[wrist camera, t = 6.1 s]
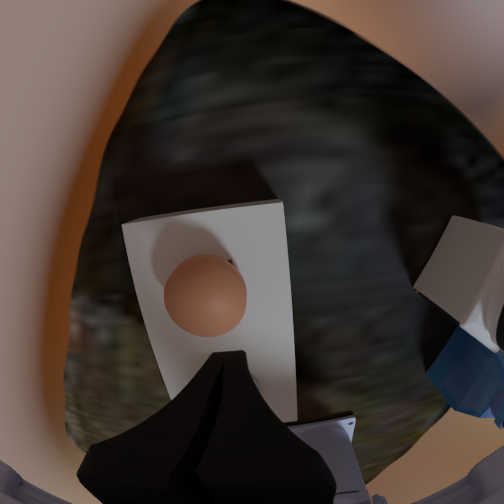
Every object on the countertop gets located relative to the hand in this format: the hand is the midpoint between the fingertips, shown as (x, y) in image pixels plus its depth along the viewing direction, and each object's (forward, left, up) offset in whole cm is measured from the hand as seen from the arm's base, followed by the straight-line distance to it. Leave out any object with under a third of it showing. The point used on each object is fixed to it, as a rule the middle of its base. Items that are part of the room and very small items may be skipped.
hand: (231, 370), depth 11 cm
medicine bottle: (-1, -18, -10) cm, 21 cm away
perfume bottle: (-11, -21, -10) cm, 26 cm away
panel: (-3, +2, -9) cm, 10 cm away
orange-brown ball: (+1, +2, -8) cm, 8 cm away
